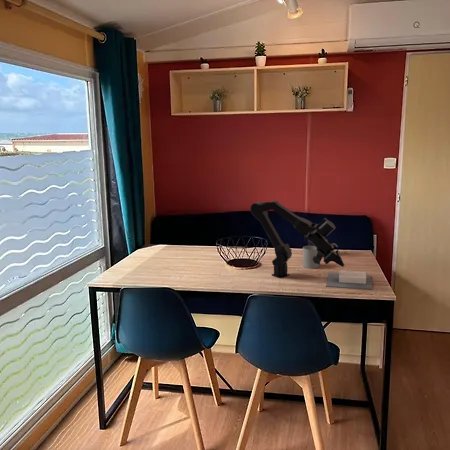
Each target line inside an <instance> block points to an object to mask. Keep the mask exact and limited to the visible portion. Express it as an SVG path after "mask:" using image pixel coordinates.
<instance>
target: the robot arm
mask: <svg viewBox="0 0 450 450" xmlns="http://www.w3.org/2000/svg"><path fill="white" fill-rule="evenodd" d="M249 210H250V213H251V215H253V217H254V218H255V219H257V221H259V222H260V225H261V226H262V228H263V230H264V231H265V233H266V235H267V236H268V238H269V240H270V242H271V244H272V246H273V249H274V255H275V258H274V259H273V260H272V261H271V263H272V265H273V273H271V276H273V277H277V278H280V279H282V278H286V277H289V276H290V274H289V273H288V261H289V260H290V259H291V258H292V255H293V252H292V248H291V247H290V244H289V243H284V242H283V240H282V238H281V237H280V235H279V233H278V232H277V230H276V229H275V226H274V225H273V223H272V221H271V219H270V218H269V211H271V210H272V211H274V212H275V213H276V214H278V215H279V216H281V217H282V218H284V219H285V220H286V221H287V222H289V223H291V224H292V226H293V227H294V229H295V230H296V231H298V233H300V235H304V237H303V238H304V240H303V241H304V243H308V240H309V241H310V242H311V243H312V244H313V245H314V246H315V247H316V248H317V251H318V252H317V254H316V256H314V257H313V262H314V263H315V264H316V263H317V264H319V265H321V261H322V259H323V263H325V264H326V265H328V264H329V263H331V262H333V263H336V265H339V266H341V267H342V268H344V266H345V264H344V261H343V260H342V259H343V258H342V257H341V254H340V251H339V249H337V248H338V247H339V246H338V245H337V244H336V243H335V242H333V243H330V242H329V241H328V239H327V238H326V237H328V236H329V235H330V234H331V233H332V232H333V231H334V230H335V229H336V226H335V224H334V223H333V222H332V221H330V220H329V219H327V218H326V217H324V218H323V219H322V220H321V221H320V222H319V223H313V222H312V221H311V220H308V219H306V218H304V217H302V216H301V217H300V216H298V215H297V214H295V213H294V212H292V211H291V210H290V209H288V208H287V207H285V206H284V205H282V204H281V203H280V202H279V201H277V200H271V201H266V202H262V201H257V202H254V203H252V204H251V206H250V209H249ZM315 229H317V230H316V231H315V232H313V231H314V230H315ZM309 232H311V233H310V234H309V235H308V233H309ZM318 232H319V233H318ZM323 236H325V238H324V237H323ZM335 249H336V250H335Z"/></svg>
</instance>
